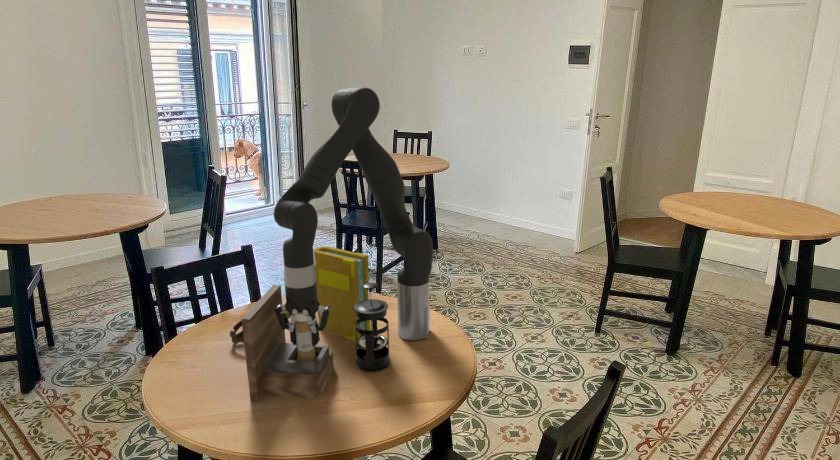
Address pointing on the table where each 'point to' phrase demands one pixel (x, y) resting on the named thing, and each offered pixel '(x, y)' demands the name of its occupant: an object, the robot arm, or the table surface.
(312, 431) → the table surface
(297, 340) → the sprinkles bottle
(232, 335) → the pottery mug
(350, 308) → the book
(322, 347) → the brown wooden holder
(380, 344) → the french press
